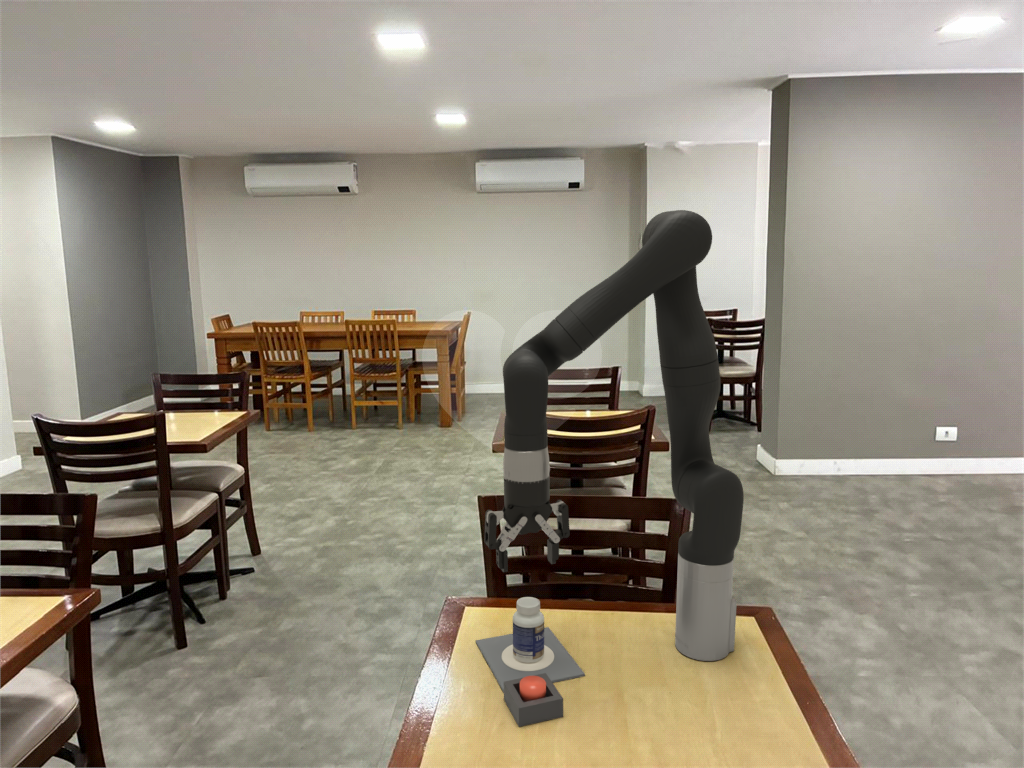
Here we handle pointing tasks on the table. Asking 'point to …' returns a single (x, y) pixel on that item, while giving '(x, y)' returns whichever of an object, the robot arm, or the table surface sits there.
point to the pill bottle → (528, 631)
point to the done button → (532, 688)
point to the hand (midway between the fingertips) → (527, 566)
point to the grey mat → (508, 668)
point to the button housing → (533, 703)
